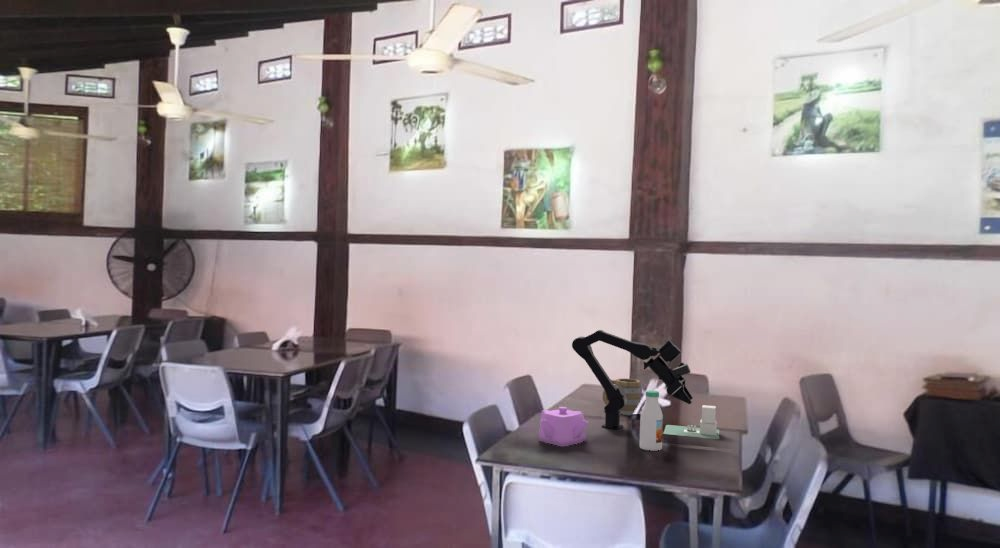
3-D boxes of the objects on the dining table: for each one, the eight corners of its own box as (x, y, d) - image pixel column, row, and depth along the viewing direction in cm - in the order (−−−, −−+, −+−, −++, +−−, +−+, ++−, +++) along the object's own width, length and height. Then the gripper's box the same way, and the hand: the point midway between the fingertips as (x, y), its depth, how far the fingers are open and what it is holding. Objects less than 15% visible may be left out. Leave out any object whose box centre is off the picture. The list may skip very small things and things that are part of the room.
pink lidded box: (582, 436, 257) (583, 403, 257) (588, 448, 240) (589, 412, 240) (536, 435, 257) (537, 402, 256) (539, 447, 240) (540, 411, 239)
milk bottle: (649, 452, 236) (650, 394, 236) (634, 446, 243) (636, 390, 243) (666, 450, 240) (668, 392, 240) (652, 444, 247) (653, 388, 246)
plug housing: (699, 433, 260) (700, 407, 260) (700, 431, 264) (700, 404, 264) (716, 435, 258) (717, 408, 258) (716, 432, 263) (717, 406, 262)
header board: (662, 436, 259) (663, 427, 259) (666, 427, 274) (666, 418, 274) (719, 442, 252) (719, 432, 252) (719, 432, 268) (719, 423, 268)
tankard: (646, 411, 304) (647, 377, 303) (635, 416, 293) (636, 381, 293) (604, 405, 314) (605, 372, 314) (592, 410, 304) (593, 376, 303)
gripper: (676, 359, 256) (706, 391, 252) (679, 353, 274) (707, 383, 270) (654, 379, 258) (683, 411, 255) (658, 372, 276) (686, 402, 273)
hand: (691, 401), depth 263 cm, fingers open, 9 cm apart
